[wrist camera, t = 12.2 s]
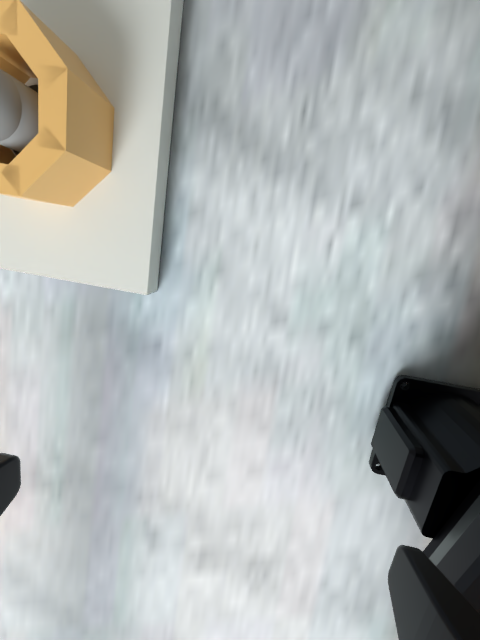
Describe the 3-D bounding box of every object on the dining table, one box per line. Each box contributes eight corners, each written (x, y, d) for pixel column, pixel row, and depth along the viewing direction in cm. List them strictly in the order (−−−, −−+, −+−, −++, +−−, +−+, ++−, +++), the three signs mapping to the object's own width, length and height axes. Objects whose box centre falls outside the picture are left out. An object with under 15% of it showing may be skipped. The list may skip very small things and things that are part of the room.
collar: (117, 59, 15) (68, 2, 11) (109, 213, 16) (64, 203, 13) (-18, 42, 15) (-103, -17, 12) (-12, 192, 17) (-85, 179, 13)
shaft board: (184, -11, 15) (123, -183, 9) (157, 291, 19) (100, 311, 13) (-41, -34, 16) (-230, -202, 10) (-24, 258, 19) (-155, 263, 14)
